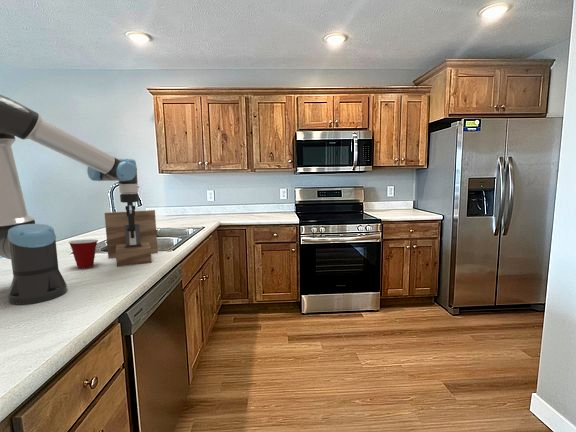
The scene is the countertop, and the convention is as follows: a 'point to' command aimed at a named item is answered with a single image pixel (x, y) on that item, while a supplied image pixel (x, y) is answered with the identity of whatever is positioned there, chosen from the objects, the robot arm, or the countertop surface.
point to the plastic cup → (84, 252)
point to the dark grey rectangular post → (136, 236)
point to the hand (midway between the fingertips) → (133, 243)
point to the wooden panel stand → (118, 241)
